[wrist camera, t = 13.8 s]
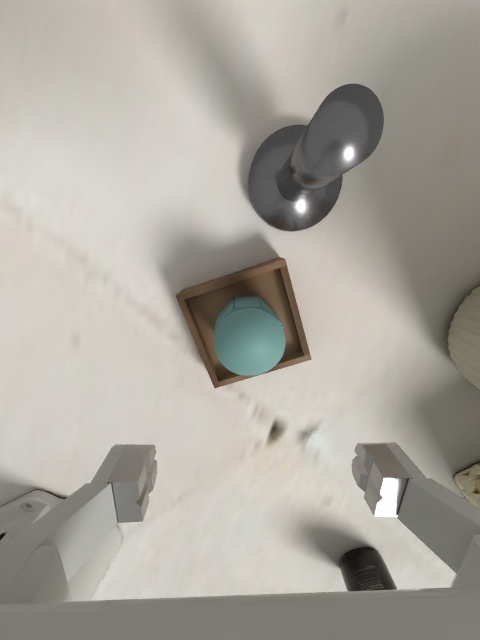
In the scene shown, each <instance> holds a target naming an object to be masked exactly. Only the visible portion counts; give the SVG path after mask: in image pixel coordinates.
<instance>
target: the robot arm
mask: <svg viewBox="0 0 480 640" xmlns="http://www.w3.org/2000/svg"><path fill="white" fill-rule="evenodd" d="M355 452H356V454H357V456H356V457H355V458H354V459H353V461H352V473H353V476H354V479H355V481H356V483H357V485H358V487H360V488H361V489H362V490H363V491H364V492H365V496H364V498H365V500H366V502H367V504H368V506H369V508H370V510H371V511H372V513H373V515H374V516H393V517H397V518H398V519H399V520H400V521H401V522H402V523H403V524H404V525H405V526H406V527H407V528H408V529H409V530H411V531H412V532H413V533H414V534H415V535H416V536H417V537H418V538H419V539H420V540H421V541H422V542H423V543H424V544H425V545H427V546H428V547H429V548H430V549H431V550H432V551H433V552H434V553H435V554H436V555H437V556H438V557H439V558H440V559H441V560H443V561H444V562H445V563H446V564H447V565H448V566H449V567H450V568H451V569H452V570H453V571H454V572H455V573H456V575H455V578H454V580H453V582H452V584H451V588H427V589H400V590H373V591H345V592H317V593H289V594H261V595H235V596H208V597H181V598H154V599H127V600H100V601H91V600H92V598H93V596H94V594H95V592H96V590H97V588H98V586H99V584H100V582H101V580H103V579H104V577H105V575H106V573H107V571H108V568H109V566H110V564H111V562H112V561H113V559H114V557H115V556H116V554H117V553H118V551H119V549H120V547H121V534H120V531H119V529H118V527H117V525H118V523H122V522H140V521H143V519H144V516H145V513H146V510H147V507H148V504H149V495H148V494H149V493H150V492H151V491H152V490H153V488H154V485H155V481H156V475H157V461H156V460H155V459H154V457H155V454H156V449H155V445H133V444H128V445H119V444H115V445H114V446H113V447H112V448H111V450H110V451H109V453H108V455H107V456H106V458H105V460H104V461H103V463H102V465H101V466H100V468H99V470H98V471H97V473H96V475H95V477H94V478H93V480H92V482H91V483H88V484H85V485H84V486H82V487H81V488H80V489H78V490H77V491H76V492H74V493H73V494H72V495H70V496H69V497H68V498H66V499H65V500H64V499H60V498H57V497H55V496H53V495H51V494H49V493H47V492H44V491H40V490H35V491H32V492H30V493H28V494H26V495H24V496H22V497H20V498H18V499H16V500H14V501H12V502H10V503H8V504H6V505H4V506H2V507H0V640H480V509H479V508H478V507H476V506H474V505H473V504H471V503H470V502H468V501H466V500H465V499H463V498H462V497H460V496H458V495H457V494H455V493H453V492H452V491H450V490H449V489H447V488H445V487H444V486H442V485H441V484H439V483H437V482H436V481H434V480H432V479H427V478H426V477H425V476H424V475H423V473H422V472H421V471H420V470H419V469H418V467H417V466H416V465H415V464H414V463H413V462H412V460H411V459H410V458H409V457H408V456H407V455H406V453H405V452H404V451H403V450H402V449H401V448H400V446H399V445H398V444H396V443H358V444H357V445H356V447H355Z"/></svg>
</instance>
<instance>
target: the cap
mask: <svg viewBox="0 0 480 640" xmlns="http://www.w3.org/2000/svg"><path fill="white" fill-rule="evenodd" d="M214 332H215V340H214V348H215V352H216V355H217V357H218V359H219V361H220V362H221V363H222V365H223V366H224V367H226V368H227V369H228V370H230V371H232V372H233V373H236V374H239V375H244V376H254V375H259V374H262V373H265V372H267V371H269V370H270V369H272V368H273V367H274V366H275V365H276V364H277V363H278V362H279V361H280V359H281V358H282V356H283V353H284V350H285V344H286V341H285V334H284V331H283V324H282V322H281V321H280V319H279V317H278V315H277V314H276V312H275V311H274V310H273V309H272V308H271V307H270V306H269V305H268V304H267V303H266V302H265V301H263V300H262V299H261V298H260V297H258V296H243V297H235V299H234V298H232V299H231V300H230V301H229V303H228V304H227V305H226V306H225V307H224V308H223V309H222V310H221V311H220V312H219V313H218V316H217V320H216V324H215V328H214Z"/></svg>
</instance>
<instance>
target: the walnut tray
mask: <svg viewBox="0 0 480 640" xmlns="http://www.w3.org/2000/svg"><path fill="white" fill-rule="evenodd" d="M243 296H258V297H260V298H261V299H262V300H263V301H265V302H266V303H267V304H268V305H269V306H270V307H271V308H272V309H273V310H274V311H275V312H276V314H277V315H278V317H279V319H280V321H281V322H282V324H283V331H284V334H285V341H286V344H285V350H284V353H283V356H282V358H281V359H280V361H279V362H278V363H277V364H276V365H275V366H274V367H273V368H272V369H270V370H269V371H267V372H265V373H268V372H271V371H274V370H278V369H281V368H284V367H288V366H291V365H294V364H298V363H301V362H304V361H308V360H311V356H310V352H309V348H308V345H307V341H306V337H305V333H304V329H303V326H302V322H301V318H300V314H299V310H298V307H297V303H296V299H295V295H294V291H293V288H292V284H291V280H290V276H289V272H288V269H287V265H286V261H285V259H284V258H277V259H274V260H271V261H268V262H265V263H262V264H259V265H256V266H253V267H250V268H247V269H244V270H241V271H238V272H235V273H232V274H229V275H226V276H223V277H220V278H217V279H214V280H211V281H209V282H206V283H203V284H200V285H197V286H194V287H191V288H188V289H185V290H182V291H180V292H179V293H178V294H177V295H176V298H177V300H178V303H179V305H180V307H181V310H182V312H183V314H184V317H185V319H186V322H187V324H188V326H189V329H190V331H191V333H192V336H193V338H194V341H195V343H196V345H197V348H198V350H199V352H200V355H201V357H202V359H203V362H204V364H205V367H206V369H207V371H208V374H209V376H210V378H211V381H212V383H213V386H214V388H217V387H221V386H224V385H227V384H231V383H234V382H238V381H241V380H244V379H248V378H251V377H254V376H258V375H254V376H244V375H239V374H236V373H233V372H232V371H230V370H228V369H227V368H226V367H224V366H223V365H222V363H221V362H220V361H219V359H218V357H217V355H216V352H215V348H214V340H215V332H214V328H215V324H216V320H217V316H218V313H219V312H220V311H221V310H222V309H223V308H224V307H225V306H226V305H227V304H228V303H229V301H230V300H231V299H232V298H234V299H235V297H243ZM262 374H264V373H262ZM259 375H261V374H259Z"/></svg>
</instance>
